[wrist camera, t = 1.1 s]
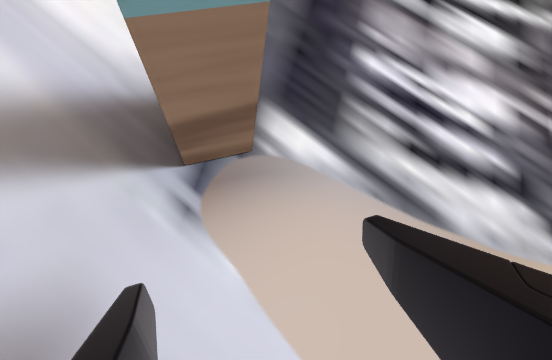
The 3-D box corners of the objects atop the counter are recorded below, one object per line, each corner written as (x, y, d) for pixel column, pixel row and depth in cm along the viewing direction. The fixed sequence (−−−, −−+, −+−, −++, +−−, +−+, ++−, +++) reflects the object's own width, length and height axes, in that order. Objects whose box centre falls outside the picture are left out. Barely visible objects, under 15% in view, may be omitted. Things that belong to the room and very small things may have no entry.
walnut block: (251, 150, 23) (272, -25, 10) (184, 165, 22) (112, -10, 9) (235, 95, 25) (236, -122, 12) (172, 106, 24) (93, -118, 11)
